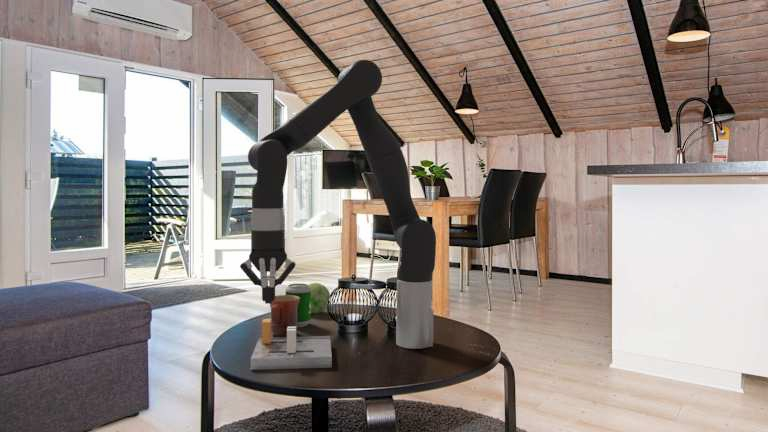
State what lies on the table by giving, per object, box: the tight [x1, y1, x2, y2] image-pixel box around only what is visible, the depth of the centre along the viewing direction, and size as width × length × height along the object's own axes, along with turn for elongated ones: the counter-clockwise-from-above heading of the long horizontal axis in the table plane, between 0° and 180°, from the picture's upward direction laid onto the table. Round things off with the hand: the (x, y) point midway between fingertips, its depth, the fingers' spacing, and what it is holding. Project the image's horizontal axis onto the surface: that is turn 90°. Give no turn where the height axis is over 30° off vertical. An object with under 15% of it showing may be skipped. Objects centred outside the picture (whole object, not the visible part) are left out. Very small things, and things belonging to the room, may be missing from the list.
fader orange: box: [261, 318, 272, 344], centre depth 128 cm, size 2×4×5 cm, turn 7°
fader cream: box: [287, 326, 297, 353], centre depth 121 cm, size 2×4×5 cm, turn 7°
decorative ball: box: [307, 282, 331, 314], centre depth 171 cm, size 10×10×10 cm
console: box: [250, 335, 333, 371], centre depth 125 cm, size 18×17×3 cm
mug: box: [269, 294, 300, 337], centre depth 143 cm, size 12×9×10 cm
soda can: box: [284, 283, 312, 328], centre depth 155 cm, size 8×8×12 cm
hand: (268, 302), depth 120 cm, fingers closed
